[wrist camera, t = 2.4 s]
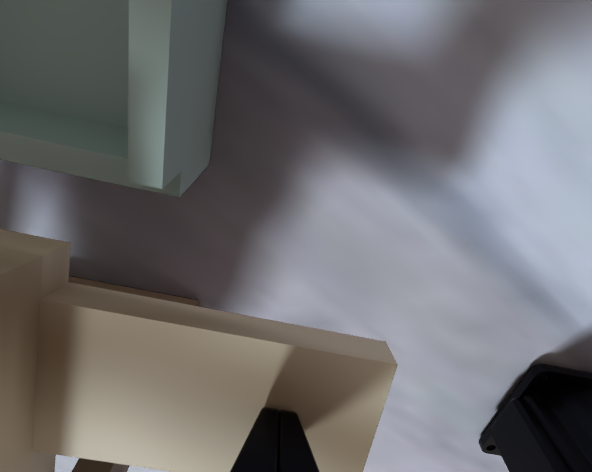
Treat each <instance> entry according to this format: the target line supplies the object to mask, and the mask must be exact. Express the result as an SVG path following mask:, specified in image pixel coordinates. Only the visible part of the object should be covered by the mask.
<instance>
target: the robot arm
mask: <svg viewBox="0 0 592 472" xmlns="http://www.w3.org/2000/svg"><path fill="white" fill-rule="evenodd" d="M479 445H480V447H481V449H482V451H483V452H485V453H488V454H494V455H500V456H502V458H503V460H504V462H505V464H506V466H507V468H508V470H509V472H592V373H587V372H581V371H576V370H571V369H565V368H560V367H555V366H550V365H543V364H540V365H536V366H534V367H532V368H531V369H530V370H529V372H528V373H527V375H526V376H525V377H524V379H523V380H522V381H521V383H520V384H519V386H518V387H517V388H516V390H515V391H514V392H513V394H512V395H511V397H510V398H509V399H508V401H507V402H506V403H505V405H504V406H503V408H502V409H501V410H500V412H499V413H498V414H497V416H496V417H495V419H494V420H493V421H492V423H491V424H490V425H489V427H488V428H487V430H486V431H485V432H484V434H483V435H482V436H481V438H480V439H479ZM230 472H320V471H319V469H318V466H317V464H316V461H315V458H314V456H313V453H312V450H311V448H310V445H309V443H308V440H307V437H306V435H305V432H304V430H303V427H302V424H301V422H300V419H299V417H298V415H297V413H296V412H294V411H288V410H280V411H279V410H278V409H276V408H269V407H263V408H262V409H261V411H260V413H259V415H258V417H257V419H256V421H255V423H254V425H253V427H252V429H251V431H250V433H249V435H248V437H247V439H246V441H245V443H244V445H243V447H242V449H241V451H240V453H239V455H238V457H237V459H236V460H235V462H234V464H233V466H232V468H231V470H230Z"/></svg>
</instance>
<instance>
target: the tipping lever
mask: <svg viewBox="0 0 592 472" xmlns="http://www.w3.org/2000/svg"><path fill="white" fill-rule="evenodd" d="M70 250H71V243H69V242H64V241H59V240H54V239H49V238H44V237H39V236H34V235H29V234H23V233H18V232H13V231H8V230H3V229H0V472H54V470H55V456H56V454H57V455H64V456H70V457H77V458H84V459H90V460H97V461H104V462H110V463H117V464H124V465H130V466H137V467H144V468H150V469H157V470H163V471H170V472H230V470H231V468H232V466H233V464H234V462H235V460H236V459H237V457H238V455H239V453H240V451H241V449H242V447H243V445H244V443H245V441H246V439H247V437H248V435H249V433H250V431H251V429H252V427H253V425H254V423H255V421H256V419H257V417H258V415H259V413H260V411H261V409H262V408H263V407H269V408H276V409H278V410H279V411H280V410H288V411H294V412H296V413H297V415H298V417H299V419H300V422H301V424H302V427H303V430H304V432H305V435H306V437H307V440H308V443H309V445H310V448H311V450H312V453H313V456H314V458H315V461H316V464H317V466H318V469H319V471H320V472H363V469H364V466H365V463H366V460H367V457H368V454H369V451H370V448H371V445H372V442H373V439H374V435H375V432H376V429H377V426H378V423H379V420H380V417H381V414H382V411H383V408H384V405H385V402H386V399H387V396H388V393H389V389H390V386H391V383H392V380H393V377H394V374H395V371H396V368H397V365H398V364H397V363H396V361H395V359H394V357H393V355H392V353H391V351H390V349H389V347H388V345H387V343H386V342H385V341H380V340H374V339H369V338H364V337H358V336H353V335H348V334H342V333H337V332H332V331H326V330H321V329H316V328H310V327H305V326H300V325H294V324H289V323H284V322H278V321H273V320H268V319H262V318H257V317H252V316H246V315H241V314H236V313H230V312H225V311H220V310H214V309H209V308H204V307H198V306H193V305H188V304H182V303H177V302H172V301H167V300H161V299H156V298H151V297H145V296H140V295H135V294H129V293H124V292H119V291H113V290H108V289H103V288H97V287H92V286H87V285H81V284H76V283H71V282H68V277H69V264H70Z"/></svg>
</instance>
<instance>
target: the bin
mask: <svg viewBox="0 0 592 472" xmlns="http://www.w3.org/2000/svg"><path fill="white" fill-rule="evenodd" d="M227 1H228V0H0V160H4V161H9V162H14V163H18V164H23V165H28V166H33V167H37V168H42V169H47V170H52V171H56V172H61V173H66V174H71V175H75V176H80V177H85V178H89V179H94V180H99V181H104V182H108V183H113V184H118V185H123V186H127V187H132V188H137V189H142V190H146V191H151V192H156V193H161V194H165V195H170V196H175V197H181V195H182V194H183V193H184V192H185V191H186V190H187V189H188V188H189V186H190V185H191V184H192V183H193V182H194V181H195V180H196V179H197V177H198V176H199V175H200V174H201V173H202V172H203V171H204V169H205V168H206V167H207V166H208V165H209V162H210V153H211V144H212V135H213V126H214V117H215V108H216V99H217V90H218V81H219V72H220V63H221V54H222V46H223V37H224V28H225V19H226V10H227Z"/></svg>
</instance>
